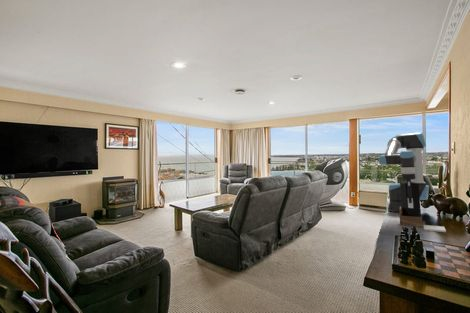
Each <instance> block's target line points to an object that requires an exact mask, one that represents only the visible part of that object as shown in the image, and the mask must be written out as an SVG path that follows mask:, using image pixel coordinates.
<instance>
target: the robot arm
mask: <svg viewBox="0 0 470 313" xmlns="http://www.w3.org/2000/svg"><path fill="white" fill-rule="evenodd" d="M425 139H426V138H425V136H424V134H423V133H422V132H414V133H403V134H398V135H395V136H393V137H392V138H390V139H389V140H388V142H387V144H386V146H387V148H386V150H385V152H384V154H380V155H379V157H378V162H379V165H380V166H393V165H397V166H398V165H400V166H401V168H400V171H401V180H405V181H404V182H405V183H406V184H407V194H408V196H407V197H406V198H408V208H413V196H412V187H411V184H412V183H413V182H415V183H419V196H420V201H425V200H428V198H429V190H430V188H429V184H428V185H427V182H425V181H424V168H423V153H422V152H423V150H424V148H425V147H426V146H427V144H426V140H425ZM399 149H405V150H401V151H400V152H399V153H398V151H399ZM400 183H401V182H398V183H397V182H396V183H392V184H389V185H388V194H389V195H388V196H389V197H388V198H389V199H388V200H389V203H388V206H387V212H390V211H392V212H391V213H397V212H399V209H400V207H401V209H402V201H401V188H400Z"/></svg>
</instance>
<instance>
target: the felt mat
mask: <svg viewBox="0 0 470 313" xmlns="http://www.w3.org/2000/svg"><path fill="white" fill-rule="evenodd" d="M423 231H430V232H438V233H439V232H440V233H447V230H446V228H445V226H439V225H429V224H423Z"/></svg>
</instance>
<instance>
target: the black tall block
mask: <svg viewBox="0 0 470 313" xmlns="http://www.w3.org/2000/svg"><path fill="white" fill-rule="evenodd" d="M405 182H406V181H404V182H399V183H400V188H401V201H402V215H403V216H413V217H421V216H422V212H421V211H422V210H421V209H422V208H421V200H420V196H419V183H415V182H413V183H412V184H411V187H412V196H413V208H408V198H406V197H407V196H408V194H407V184H406V183H405Z"/></svg>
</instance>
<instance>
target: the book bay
mask: <svg viewBox="0 0 470 313" xmlns="http://www.w3.org/2000/svg"><path fill="white" fill-rule="evenodd" d="M398 214H399V225H401V226H409V227H420V228H422V227H423V228H424V224H423V216H422V215H421V217H413V216H403V215H402V209H401V207H400V209H399V213H398Z"/></svg>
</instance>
